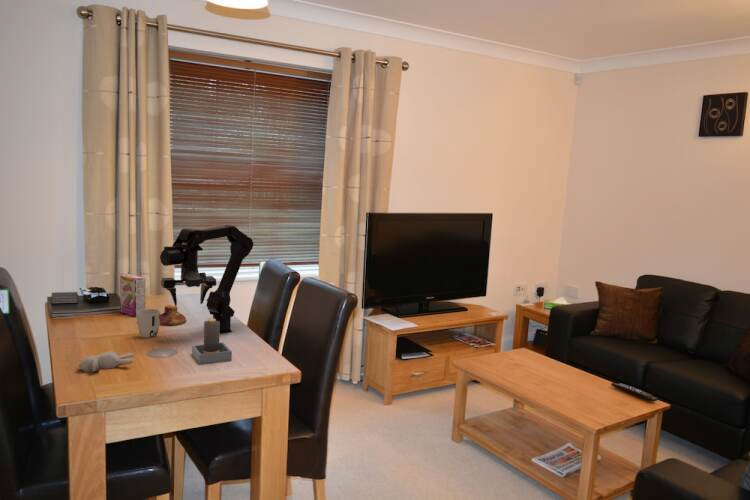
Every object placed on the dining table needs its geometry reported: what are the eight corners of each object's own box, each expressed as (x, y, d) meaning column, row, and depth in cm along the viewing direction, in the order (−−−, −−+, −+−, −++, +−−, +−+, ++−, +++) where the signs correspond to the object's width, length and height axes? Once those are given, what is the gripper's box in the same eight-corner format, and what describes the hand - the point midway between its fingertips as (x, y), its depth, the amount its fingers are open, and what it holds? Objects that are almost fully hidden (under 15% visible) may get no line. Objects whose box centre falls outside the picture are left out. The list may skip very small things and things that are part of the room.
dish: (222, 353, 197) (223, 342, 197) (231, 363, 188) (231, 351, 188) (191, 356, 192) (191, 345, 191) (198, 367, 183) (199, 355, 182)
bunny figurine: (82, 352, 179) (133, 345, 183) (84, 368, 180) (135, 360, 184) (75, 362, 170) (129, 355, 174) (78, 379, 171) (131, 371, 175)
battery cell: (211, 353, 193) (212, 316, 191) (222, 356, 191) (223, 319, 189) (200, 357, 189) (200, 319, 187) (211, 360, 186) (211, 322, 185)
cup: (152, 342, 205) (152, 315, 204) (132, 339, 207) (131, 313, 205) (164, 336, 213) (164, 310, 211) (145, 333, 214) (145, 307, 213)
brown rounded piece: (151, 321, 232) (151, 303, 231) (181, 317, 239) (181, 301, 238) (160, 328, 223) (160, 310, 222) (190, 324, 230) (190, 307, 229)
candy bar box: (119, 312, 241) (118, 275, 238) (129, 310, 245) (129, 273, 243) (135, 317, 235) (135, 279, 233) (146, 315, 239) (146, 277, 237)
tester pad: (174, 349, 198) (174, 346, 198) (180, 358, 190) (180, 355, 190) (144, 352, 193) (144, 350, 193) (148, 362, 185) (148, 359, 184)
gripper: (166, 267, 195) (166, 311, 198) (220, 266, 205) (219, 308, 207) (160, 262, 205) (160, 304, 207) (212, 261, 214) (211, 301, 217)
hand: (188, 304), depth 209 cm, fingers open, 9 cm apart
